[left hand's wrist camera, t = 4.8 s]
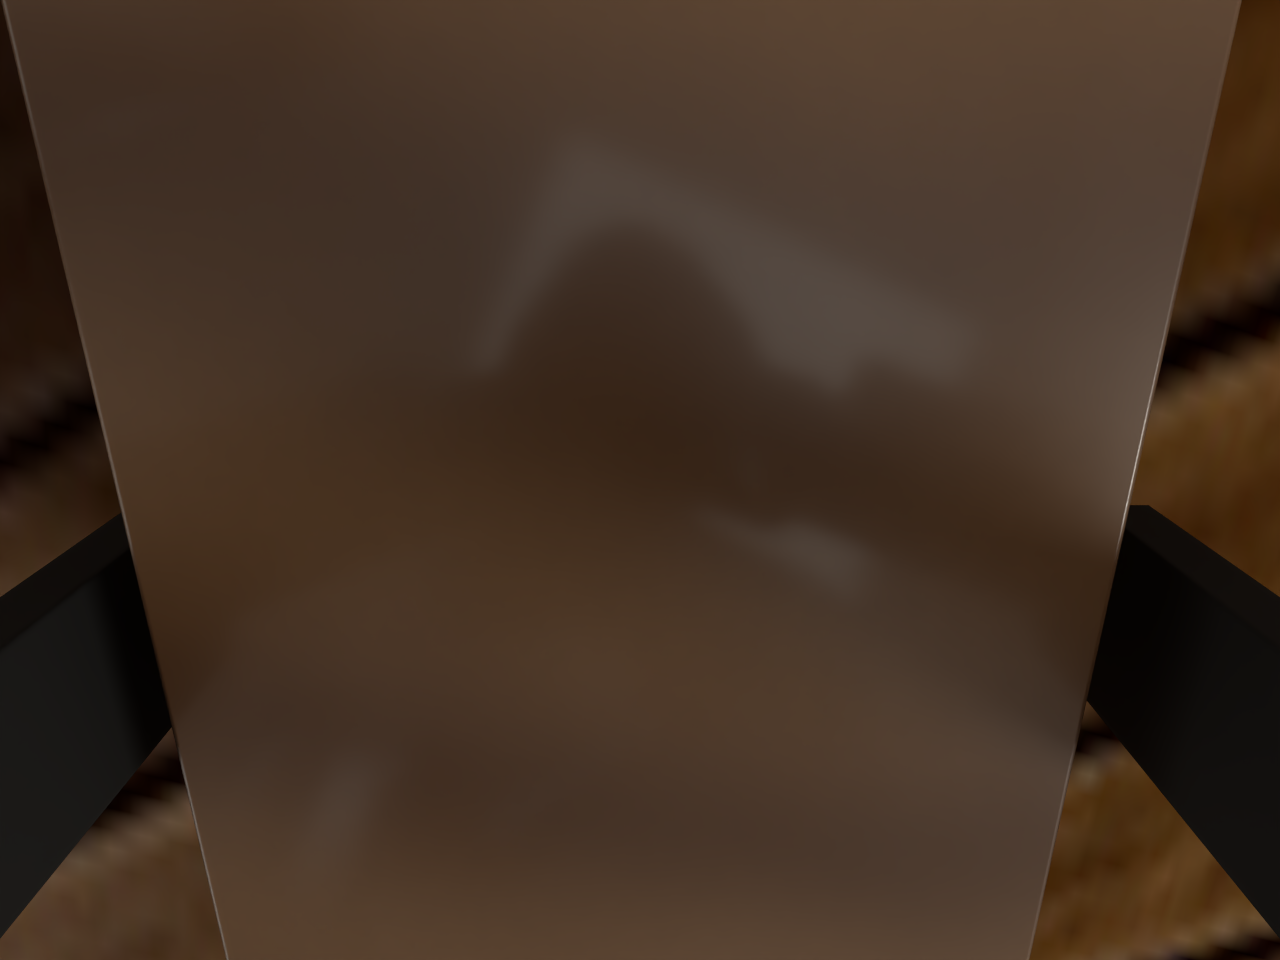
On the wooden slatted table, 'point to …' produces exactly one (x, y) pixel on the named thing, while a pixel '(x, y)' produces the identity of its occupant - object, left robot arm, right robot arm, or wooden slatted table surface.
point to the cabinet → (624, 445)
